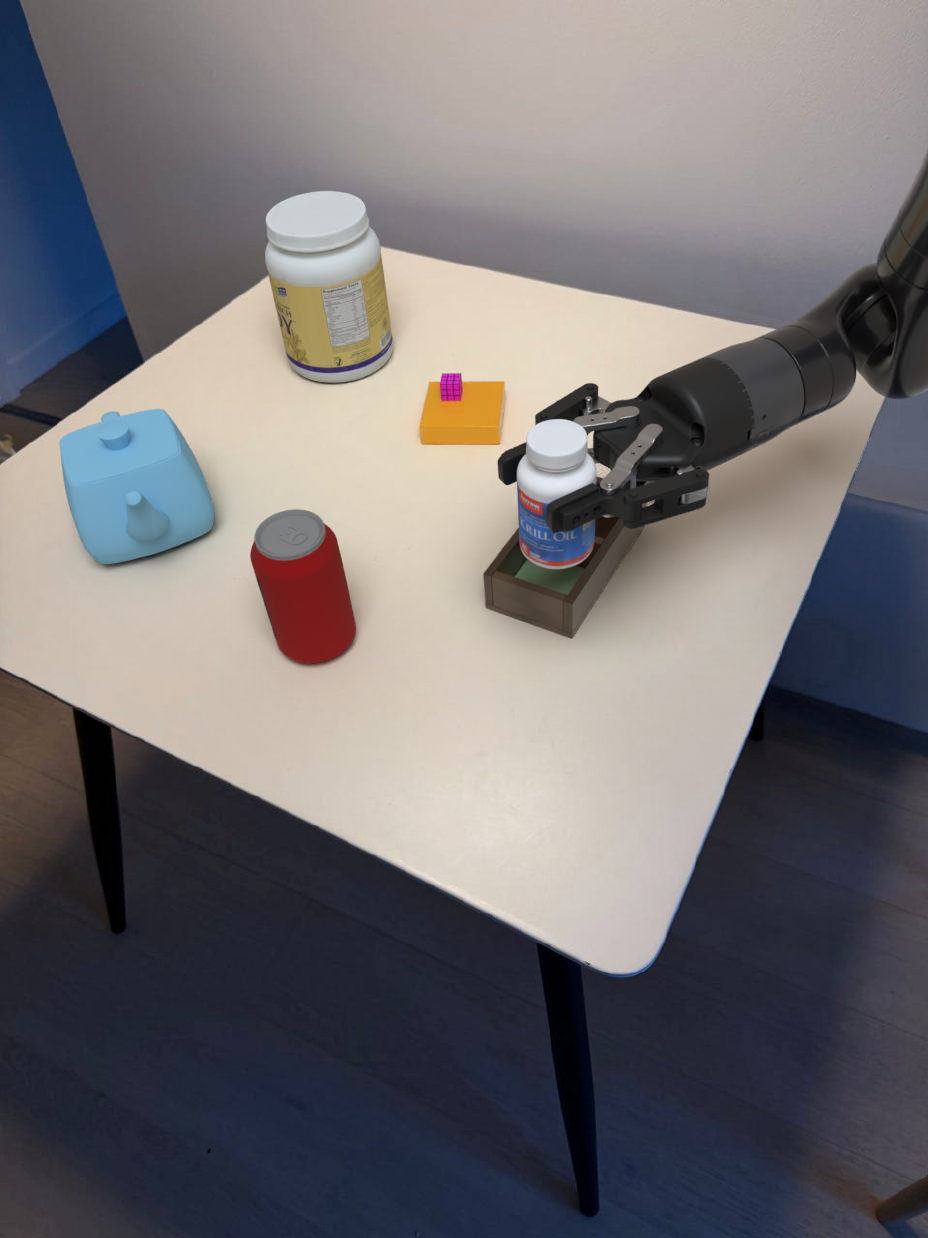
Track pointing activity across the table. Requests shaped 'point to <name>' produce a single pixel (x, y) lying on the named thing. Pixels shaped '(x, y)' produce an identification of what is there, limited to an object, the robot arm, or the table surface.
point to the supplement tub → (328, 286)
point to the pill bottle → (553, 492)
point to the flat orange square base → (463, 411)
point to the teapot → (134, 486)
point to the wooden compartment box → (556, 580)
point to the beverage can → (303, 586)
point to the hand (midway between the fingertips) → (525, 495)
